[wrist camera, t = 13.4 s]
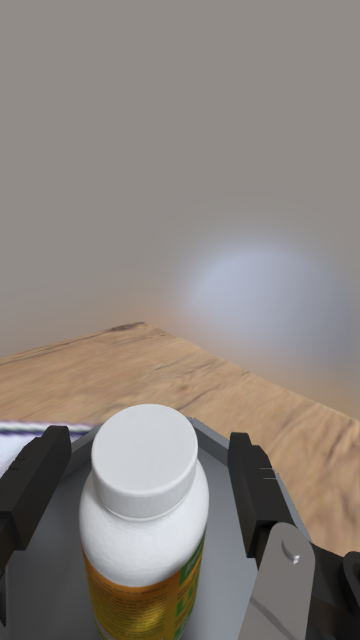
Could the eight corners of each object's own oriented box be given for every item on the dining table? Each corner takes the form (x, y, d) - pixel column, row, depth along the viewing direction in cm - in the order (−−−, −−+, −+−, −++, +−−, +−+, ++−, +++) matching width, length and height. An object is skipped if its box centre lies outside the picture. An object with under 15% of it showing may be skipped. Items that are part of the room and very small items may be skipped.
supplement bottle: (191, 688, 9) (217, 544, 6) (68, 648, 10) (27, 500, 6) (200, 527, 14) (217, 401, 11) (119, 508, 15) (111, 385, 11)
